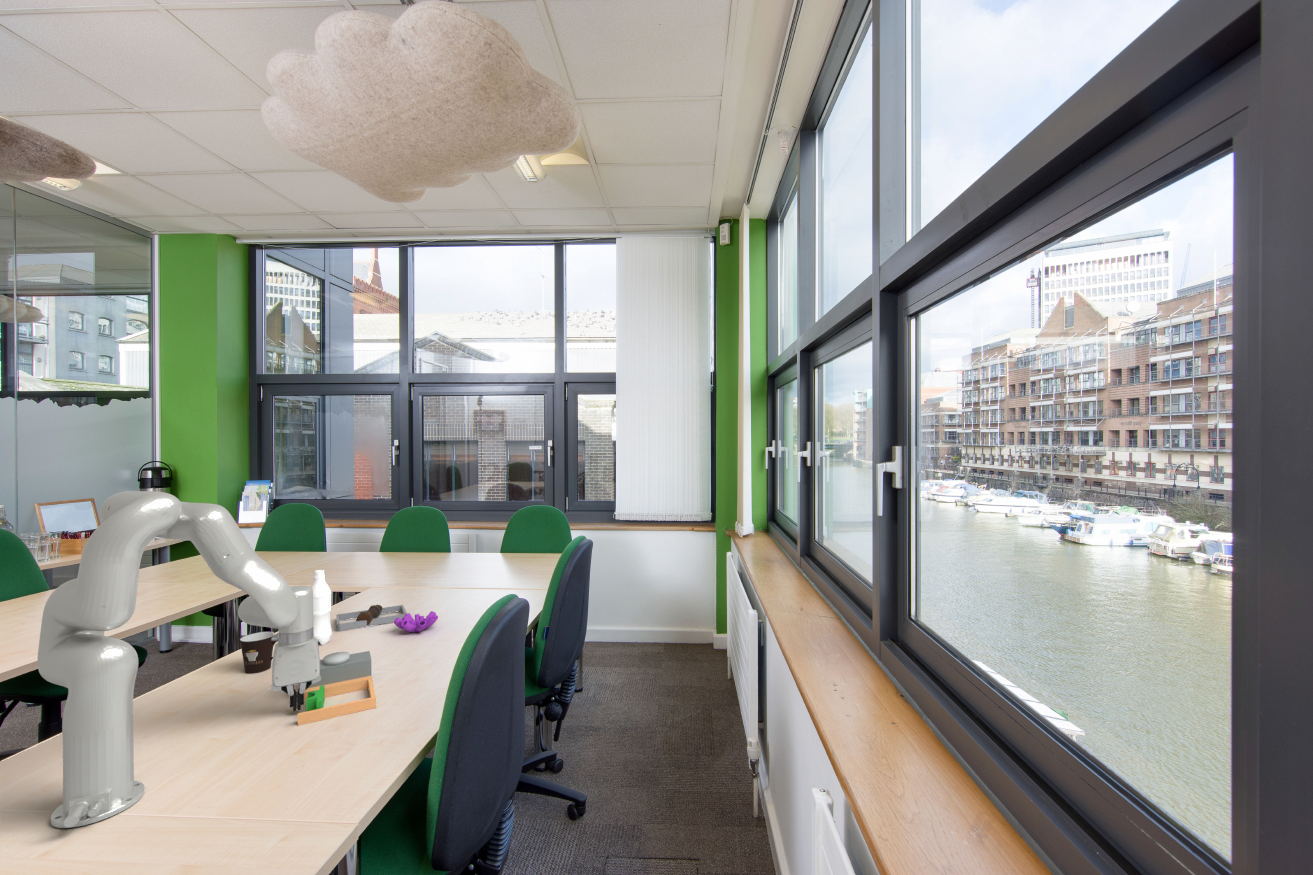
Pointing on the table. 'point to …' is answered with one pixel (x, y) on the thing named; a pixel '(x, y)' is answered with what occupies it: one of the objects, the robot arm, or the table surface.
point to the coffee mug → (257, 651)
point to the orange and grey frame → (342, 685)
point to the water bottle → (321, 608)
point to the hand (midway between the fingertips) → (297, 708)
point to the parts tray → (364, 623)
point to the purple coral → (416, 622)
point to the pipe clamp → (315, 699)
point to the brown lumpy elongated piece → (370, 614)
